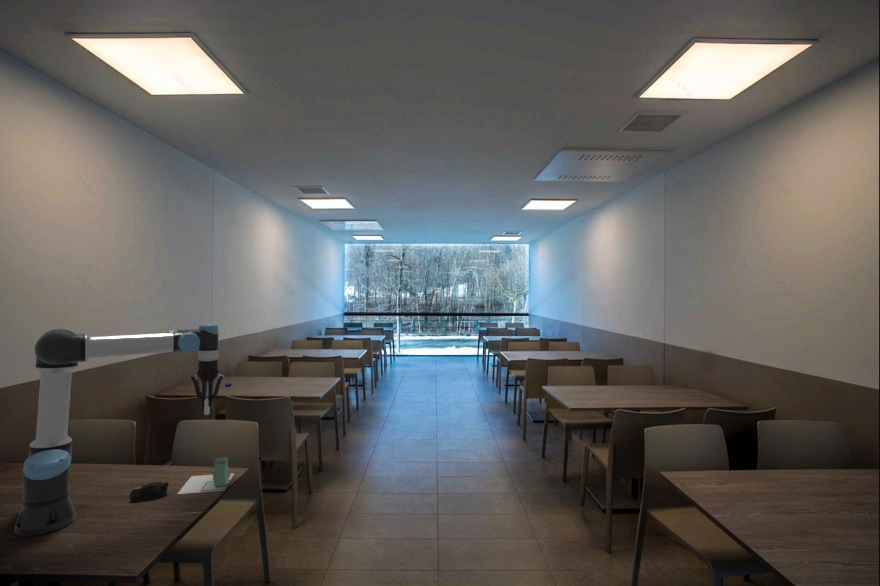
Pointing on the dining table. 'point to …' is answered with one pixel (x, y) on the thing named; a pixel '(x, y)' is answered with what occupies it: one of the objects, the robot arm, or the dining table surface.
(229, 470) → the button housing
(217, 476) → the green rectangular block
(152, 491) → the rock
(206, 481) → the board
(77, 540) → the dining table surface
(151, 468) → the dining table surface
